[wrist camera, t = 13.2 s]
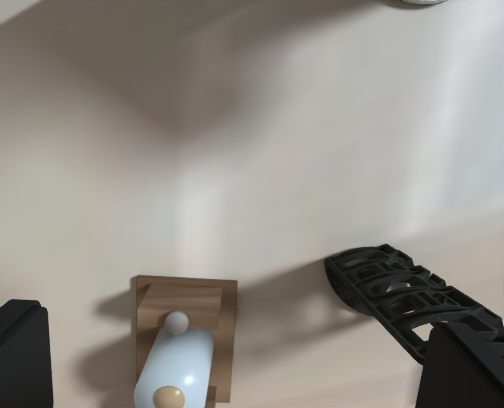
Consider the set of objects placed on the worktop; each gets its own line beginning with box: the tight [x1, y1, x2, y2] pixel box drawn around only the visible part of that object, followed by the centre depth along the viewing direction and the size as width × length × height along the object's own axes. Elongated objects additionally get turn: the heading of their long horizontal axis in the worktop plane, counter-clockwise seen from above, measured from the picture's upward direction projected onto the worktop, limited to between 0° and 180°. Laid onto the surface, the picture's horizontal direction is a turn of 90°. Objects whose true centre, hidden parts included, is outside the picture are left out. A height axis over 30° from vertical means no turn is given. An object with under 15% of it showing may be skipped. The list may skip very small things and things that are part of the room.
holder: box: [324, 244, 504, 365], centre depth 30 cm, size 11×8×20 cm
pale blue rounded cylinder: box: [134, 327, 214, 408], centre depth 36 cm, size 6×6×8 cm
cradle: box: [136, 275, 237, 408], centre depth 38 cm, size 14×10×7 cm
